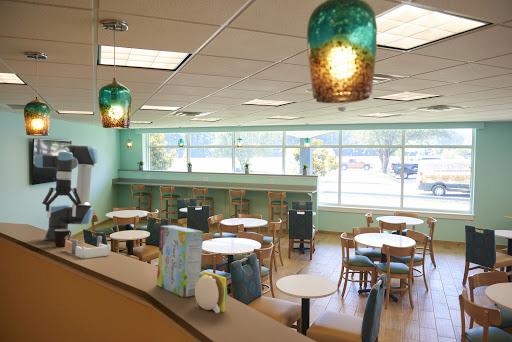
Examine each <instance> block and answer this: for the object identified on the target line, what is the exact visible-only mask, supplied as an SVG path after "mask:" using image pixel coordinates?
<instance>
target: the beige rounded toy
mask: <svg viewBox="0 0 512 342" xmlns="http://www.w3.org/2000/svg"><path fill="white" fill-rule="evenodd" d="M227 289H228V286H227V277H225V276H223V275H219V274H217V273H216V272H215V273H214V272H208V271H205V270H203V271H202V275H201V276H200V279H199V280H198V281H197V283H196V286H195V295H194V296H195V301H196V302H197V304H198V305H199V306H200V307H201V308H202V309H203V310H206V311H210V310H213V311H214V313H216V314H219V313H220V312H221V313H225V308H226V303H227V301H228V290H227Z"/></svg>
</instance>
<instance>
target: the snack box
mask: <svg viewBox="0 0 512 342" xmlns="http://www.w3.org/2000/svg"><path fill="white" fill-rule="evenodd" d="M159 229H160V230H159V231H160V232H159V243H158V244H159V245H158V246H159V247H158V261H157V274H156V275H157V276H156V286H157V285H158V286H157V287H159V288H162V289H164V290H166V291H169V292H170V293H173V294H175V295H177V296H180V297H181V298H187V297H192V296H193V297H194V296H195V286H196V283H197V281H198V280H199V279H200V278H201V271H202V270H201V269H202V258H203V257H202V255H203V244H204V243H203V240H204V238H203V237H204V230H203V231H202V230H198V229H194V228H189V227H184V226H180V225H174V224H173V225H170V224H169V225H160V228H159Z"/></svg>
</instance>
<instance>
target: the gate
mask: <svg viewBox="0 0 512 342" xmlns="http://www.w3.org/2000/svg"><path fill="white" fill-rule="evenodd" d="M78 244H79V239H72V241H70V240H67V241H65V247H64V250H67V251H68V252H70V253H75V251H76V246H78Z"/></svg>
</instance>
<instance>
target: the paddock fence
mask: <svg viewBox="0 0 512 342" xmlns="http://www.w3.org/2000/svg"><path fill="white" fill-rule="evenodd" d="M96 238H97V239H96V247H88V248H86V246H78V245H77V246H76V251H75V253H72V252H70V253H69V255H70V256H76V257H78V258H81V259H89V258H91V259H92V258H97V257H98V258H99V257H106V256H110V255H111V244H110V243H109V244H104V243H102V240H103V236H101V235H98V236H97V237H96Z"/></svg>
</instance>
